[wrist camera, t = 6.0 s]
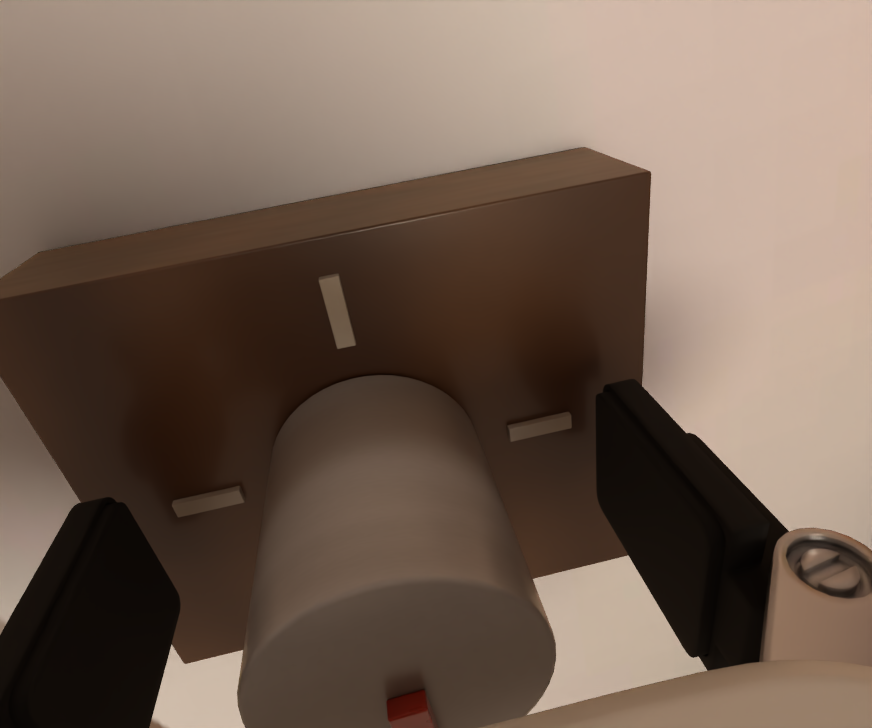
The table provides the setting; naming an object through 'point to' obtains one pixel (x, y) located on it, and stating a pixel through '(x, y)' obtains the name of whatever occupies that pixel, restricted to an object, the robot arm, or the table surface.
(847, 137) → the table surface
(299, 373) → the panel
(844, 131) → the table surface
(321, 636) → the dial
